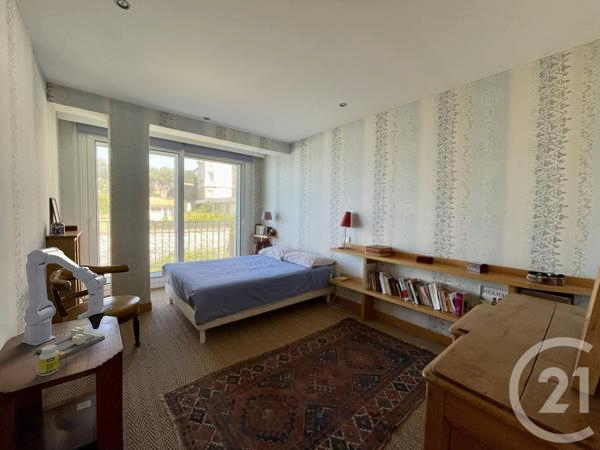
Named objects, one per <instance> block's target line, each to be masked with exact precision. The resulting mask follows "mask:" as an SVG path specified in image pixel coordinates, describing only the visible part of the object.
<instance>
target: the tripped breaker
mask: <svg viewBox="0 0 600 450" xmlns="http://www.w3.org/2000/svg"><path fill="white" fill-rule="evenodd" d="M84 342H86V335H82V334H76V335H75V336H73V337H72V344H76V345H80V344H82V343H84Z"/></svg>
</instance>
